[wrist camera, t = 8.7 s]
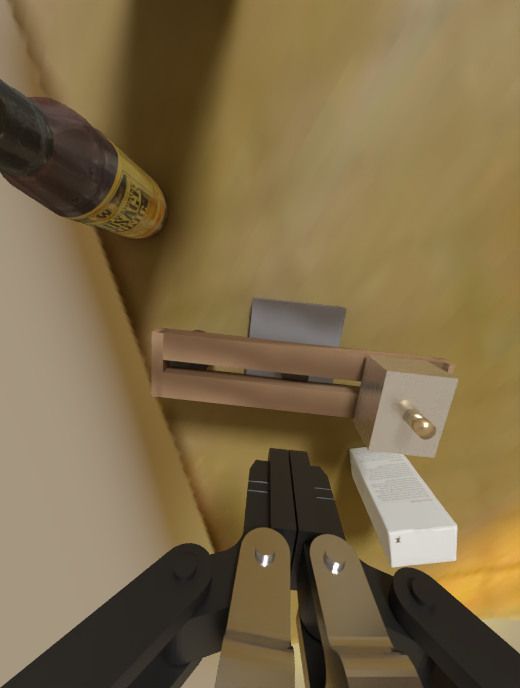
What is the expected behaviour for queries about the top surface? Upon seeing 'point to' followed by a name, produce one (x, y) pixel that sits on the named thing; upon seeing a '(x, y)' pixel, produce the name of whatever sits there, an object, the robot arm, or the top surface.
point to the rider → (403, 405)
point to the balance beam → (268, 362)
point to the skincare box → (403, 509)
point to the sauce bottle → (75, 167)
